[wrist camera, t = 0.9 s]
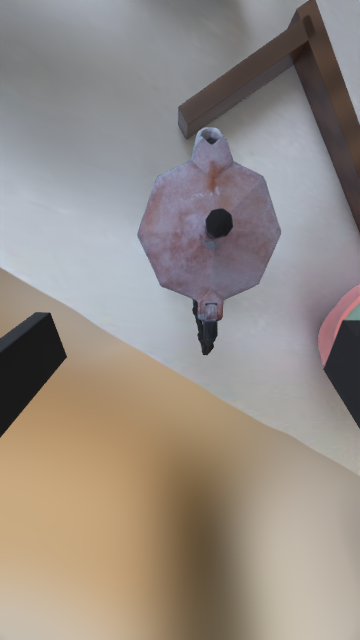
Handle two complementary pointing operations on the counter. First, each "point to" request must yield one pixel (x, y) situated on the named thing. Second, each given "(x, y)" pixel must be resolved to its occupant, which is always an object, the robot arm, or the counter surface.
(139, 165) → the counter surface
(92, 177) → the counter surface
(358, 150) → the corner guide
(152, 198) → the moka pot
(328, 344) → the cell model
